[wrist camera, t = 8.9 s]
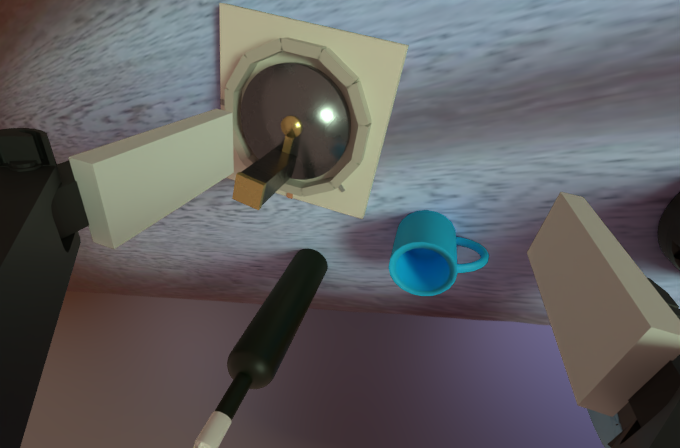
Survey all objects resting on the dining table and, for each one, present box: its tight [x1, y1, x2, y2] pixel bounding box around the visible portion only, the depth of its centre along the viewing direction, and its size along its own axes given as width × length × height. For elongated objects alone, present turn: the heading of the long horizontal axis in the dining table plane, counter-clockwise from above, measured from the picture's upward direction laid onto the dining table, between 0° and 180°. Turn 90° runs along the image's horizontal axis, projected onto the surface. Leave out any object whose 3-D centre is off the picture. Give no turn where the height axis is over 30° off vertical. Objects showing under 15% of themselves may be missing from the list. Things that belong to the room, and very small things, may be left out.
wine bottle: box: [193, 249, 328, 448], centre depth 44 cm, size 6×6×30 cm
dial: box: [232, 62, 351, 210], centre depth 38 cm, size 14×14×11 cm
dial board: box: [219, 3, 409, 219], centre depth 43 cm, size 22×22×4 cm
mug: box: [389, 210, 489, 296], centre depth 44 cm, size 12×8×8 cm
